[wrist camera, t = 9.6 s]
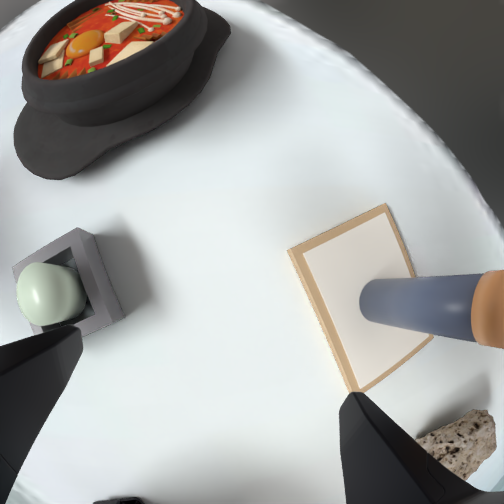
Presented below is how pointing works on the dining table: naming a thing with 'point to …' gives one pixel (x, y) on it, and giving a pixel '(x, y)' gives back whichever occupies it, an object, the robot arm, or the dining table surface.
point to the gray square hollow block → (91, 275)
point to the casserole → (110, 77)
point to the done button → (50, 293)
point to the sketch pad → (357, 295)
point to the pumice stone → (462, 443)
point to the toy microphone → (440, 305)
